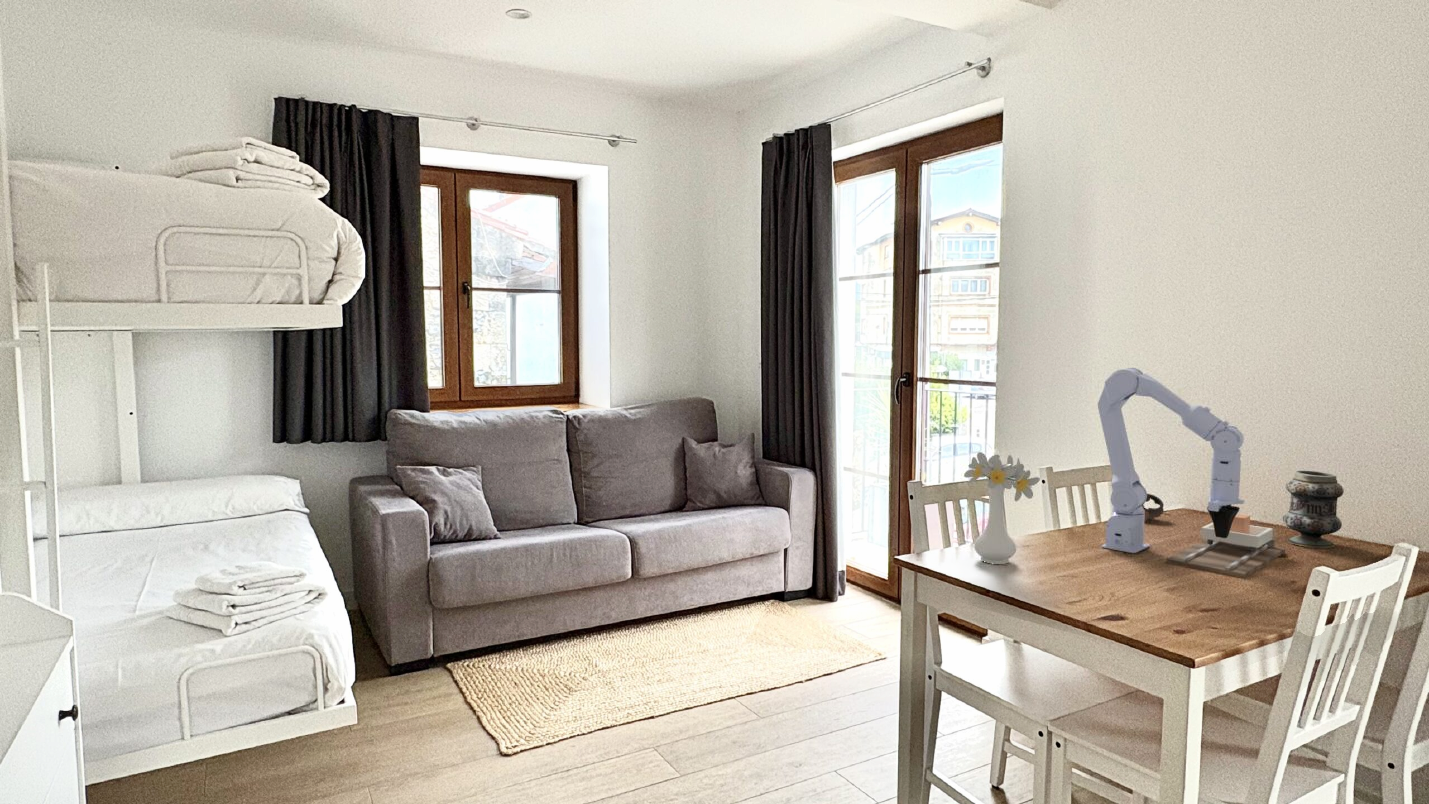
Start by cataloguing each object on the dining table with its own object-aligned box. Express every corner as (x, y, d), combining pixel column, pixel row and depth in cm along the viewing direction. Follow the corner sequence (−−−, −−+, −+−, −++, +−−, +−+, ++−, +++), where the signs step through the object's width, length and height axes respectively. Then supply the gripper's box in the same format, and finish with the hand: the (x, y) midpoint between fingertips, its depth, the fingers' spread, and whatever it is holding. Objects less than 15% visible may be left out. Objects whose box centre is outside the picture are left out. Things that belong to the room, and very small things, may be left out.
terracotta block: (1243, 539, 201) (1244, 518, 201) (1224, 536, 204) (1225, 515, 204) (1249, 536, 204) (1250, 515, 203) (1230, 533, 207) (1231, 513, 206)
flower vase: (1014, 576, 186) (1017, 463, 184) (948, 557, 201) (950, 453, 199) (1050, 566, 194) (1053, 458, 191) (983, 548, 209) (986, 448, 206)
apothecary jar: (1351, 547, 208) (1356, 474, 207) (1319, 552, 204) (1323, 478, 202) (1302, 535, 220) (1306, 467, 218) (1270, 540, 215) (1274, 470, 214)
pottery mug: (1157, 517, 243) (1167, 496, 239) (1155, 538, 237) (1166, 516, 232) (1113, 503, 248) (1122, 482, 243) (1110, 523, 241) (1119, 502, 236)
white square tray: (1257, 554, 196) (1258, 536, 196) (1200, 544, 205) (1201, 527, 204) (1271, 545, 203) (1272, 528, 203) (1216, 536, 212) (1217, 520, 212)
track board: (1244, 578, 184) (1245, 564, 184) (1166, 563, 196) (1166, 550, 195) (1284, 552, 204) (1285, 540, 204) (1211, 540, 216) (1211, 528, 215)
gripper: (1234, 485, 188) (1230, 546, 189) (1254, 477, 197) (1251, 534, 199) (1199, 481, 193) (1196, 539, 194) (1221, 473, 202) (1217, 529, 204)
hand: (1221, 537), depth 197 cm, fingers closed
